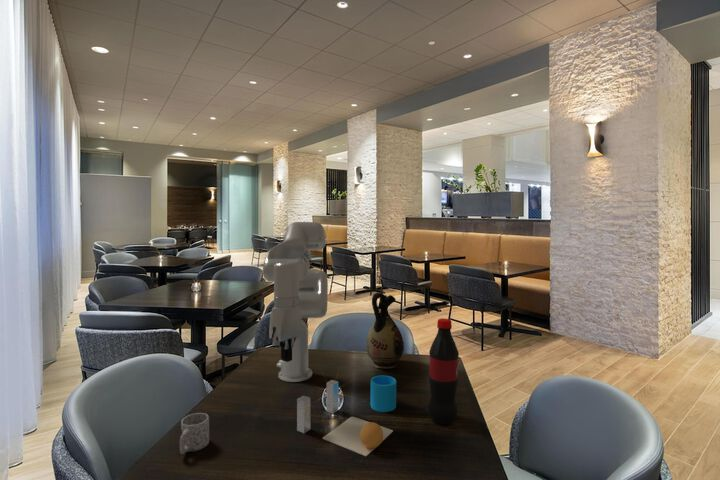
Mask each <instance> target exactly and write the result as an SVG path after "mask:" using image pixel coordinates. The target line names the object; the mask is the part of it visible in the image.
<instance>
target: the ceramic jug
mask: <svg viewBox="0 0 720 480" xmlns="http://www.w3.org/2000/svg"><path fill="white" fill-rule="evenodd" d="M371 298H372V299H371V306H372V309H373V312H374V317H375V321H374V322H373V324H372V325H371V327H370V329H369V331H368V333H367V336H366V341H365V350H366V353H367V355H368V357H369V358H370V360H371V361H372V363H373V365H374V367H375V368H377V369H387V370H390V369H395V368H397V367H398V362H399V361H400V359H401V358H402V357H403V354H404V351H405V343H404V339H403V336H402V333H401V331H400V329H399V327H398V326H397V324H396V322H395V320H393V318H392V317H391V315H390V313H389V309H388V308H389V306H391V305H392V304H394V303H395V302H396V298H395V297H394V296H393V295H391V294H389V295H386V294H384V293H382V292H376V293H373V294H372V297H371ZM378 299H380V301H379V303H378Z"/></svg>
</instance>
